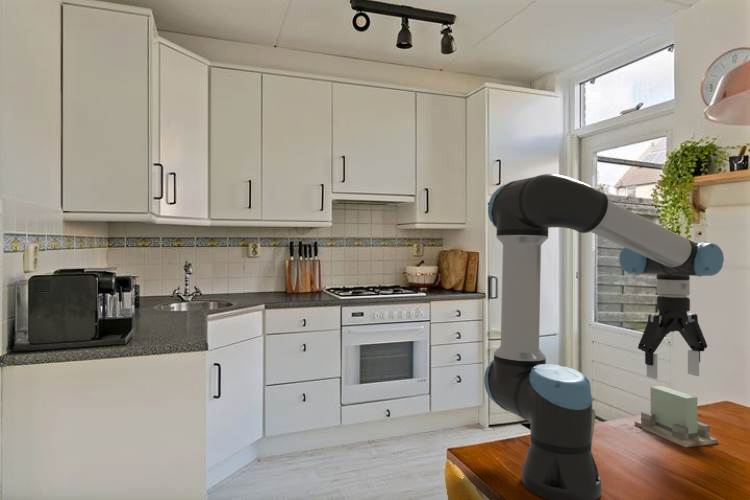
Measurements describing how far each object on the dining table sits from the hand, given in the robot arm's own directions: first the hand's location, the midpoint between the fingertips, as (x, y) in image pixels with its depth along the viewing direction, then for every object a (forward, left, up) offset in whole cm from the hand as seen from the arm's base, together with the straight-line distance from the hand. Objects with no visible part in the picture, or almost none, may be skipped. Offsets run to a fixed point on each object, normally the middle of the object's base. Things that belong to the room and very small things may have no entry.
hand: (672, 376), depth 126 cm
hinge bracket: (0, 0, -15) cm, 15 cm away
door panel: (0, 0, -14) cm, 14 cm away
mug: (-33, -5, -15) cm, 37 cm away
